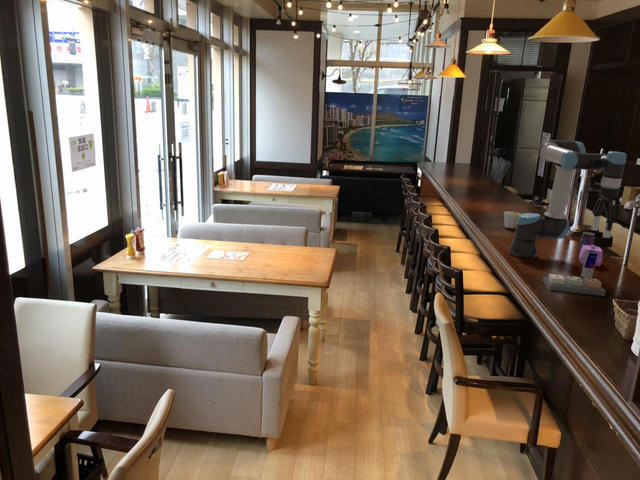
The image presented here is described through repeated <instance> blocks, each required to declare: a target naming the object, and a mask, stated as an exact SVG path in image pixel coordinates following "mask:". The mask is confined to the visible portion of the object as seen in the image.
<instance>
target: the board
mask: <svg viewBox="0 0 640 480" xmlns="http://www.w3.org/2000/svg"><path fill="white" fill-rule="evenodd" d="M548 277H549V276H543V279H542V282H543V283H544V285H545V286H546V287H547V289H548V291H554V292H555V291H556V292H565V293H573V294H583V295H584V294H585V295H591V296H592V295H593V296H601V297H605V296H606V292H607V291H606V290H605V288H603V287H602V286H601V288H600V289H599V288H590V287H586V286H585V285H584V284H583V285H582V287H580V286H571V285H568V284H567V283H566V278H564V279H565V282H564V285H562V284H553V283H550V282H549V280H548ZM583 283H584V280H583Z"/></svg>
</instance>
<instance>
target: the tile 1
mask: <svg viewBox="0 0 640 480" xmlns="http://www.w3.org/2000/svg"><path fill="white" fill-rule="evenodd" d="M547 277H548V280H549V282H550V283H553V284H562V285H564V282H565V279H566V278H564V277H563V275H562V274H553V273H549V274H548V276H547Z"/></svg>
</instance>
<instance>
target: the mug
mask: <svg viewBox="0 0 640 480" xmlns="http://www.w3.org/2000/svg"><path fill="white" fill-rule="evenodd" d="M503 215H504V216H503V225H504V228H506V229H508V228H511V229H510V230H514V229H516V222H517V219H518V216H519V215H521V213H519V212H516V211H510V210H509V211H508V210H507V211H504V213H503ZM513 228H514V229H513Z"/></svg>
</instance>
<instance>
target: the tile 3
mask: <svg viewBox="0 0 640 480" xmlns="http://www.w3.org/2000/svg"><path fill="white" fill-rule="evenodd" d="M583 281H584V283H583V284H584V285H585V286H586V287H590V288H599V289H600V288H601V287H602V282H601V281H600V280H599V279H597V278H593V277H592V278H584V280H583Z"/></svg>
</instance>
